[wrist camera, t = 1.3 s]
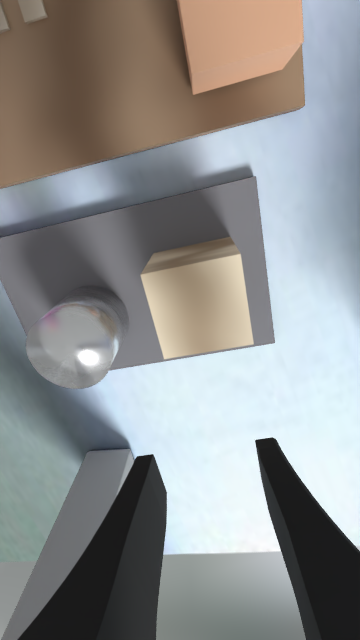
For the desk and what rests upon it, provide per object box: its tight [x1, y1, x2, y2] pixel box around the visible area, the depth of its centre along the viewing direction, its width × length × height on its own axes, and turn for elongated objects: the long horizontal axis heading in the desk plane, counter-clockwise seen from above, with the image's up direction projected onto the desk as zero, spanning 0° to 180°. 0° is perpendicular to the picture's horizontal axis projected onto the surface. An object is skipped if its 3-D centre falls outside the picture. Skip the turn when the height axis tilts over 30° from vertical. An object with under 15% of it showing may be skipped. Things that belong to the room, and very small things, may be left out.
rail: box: [0, 0, 305, 189], centre depth 15 cm, size 19×7×1 cm, turn 103°
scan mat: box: [0, 176, 275, 370], centre depth 19 cm, size 16×10×1 cm, turn 103°
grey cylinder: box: [26, 285, 129, 389], centre depth 18 cm, size 4×4×4 cm
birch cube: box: [140, 237, 254, 359], centre depth 16 cm, size 4×4×4 cm
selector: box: [177, 0, 304, 95], centre depth 12 cm, size 4×4×3 cm
